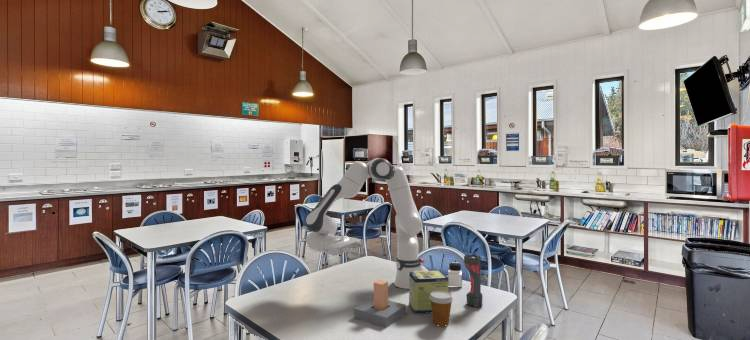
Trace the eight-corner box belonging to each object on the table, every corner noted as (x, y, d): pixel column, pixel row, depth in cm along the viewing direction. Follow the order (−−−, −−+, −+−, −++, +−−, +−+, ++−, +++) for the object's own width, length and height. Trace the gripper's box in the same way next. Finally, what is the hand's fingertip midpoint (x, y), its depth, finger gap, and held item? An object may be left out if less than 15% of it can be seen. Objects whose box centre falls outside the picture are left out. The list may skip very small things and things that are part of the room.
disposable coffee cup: (426, 318, 158) (427, 290, 157) (448, 318, 158) (449, 290, 158) (432, 329, 148) (432, 299, 148) (455, 328, 149) (456, 298, 149)
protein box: (448, 312, 165) (449, 277, 164) (414, 314, 162) (414, 278, 162) (440, 303, 175) (441, 270, 174) (408, 304, 172) (408, 271, 172)
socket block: (375, 305, 171) (375, 296, 171) (406, 313, 162) (406, 304, 162) (354, 317, 158) (354, 308, 158) (386, 327, 149) (386, 317, 149)
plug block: (379, 311, 163) (379, 279, 163) (387, 313, 161) (388, 281, 160) (373, 315, 160) (373, 282, 159) (382, 317, 157) (382, 284, 157)
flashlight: (461, 301, 177) (461, 253, 176) (477, 301, 178) (477, 253, 177) (466, 308, 169) (467, 257, 168) (483, 307, 170) (484, 257, 169)
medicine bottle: (461, 288, 195) (462, 265, 194) (447, 287, 196) (448, 264, 196) (461, 283, 202) (461, 261, 201) (448, 282, 203) (448, 260, 203)
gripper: (319, 242, 173) (343, 246, 165) (347, 234, 190) (369, 237, 182) (320, 256, 173) (343, 260, 166) (347, 246, 190) (369, 250, 183)
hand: (357, 248), depth 174 cm, fingers open, 8 cm apart
